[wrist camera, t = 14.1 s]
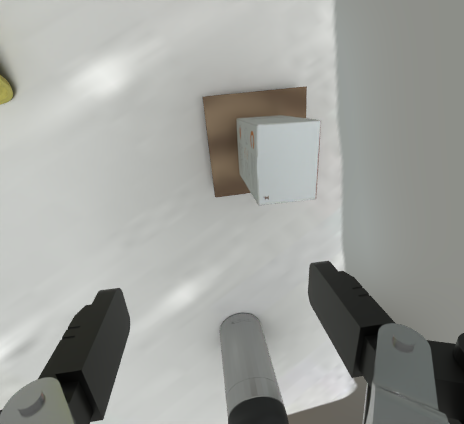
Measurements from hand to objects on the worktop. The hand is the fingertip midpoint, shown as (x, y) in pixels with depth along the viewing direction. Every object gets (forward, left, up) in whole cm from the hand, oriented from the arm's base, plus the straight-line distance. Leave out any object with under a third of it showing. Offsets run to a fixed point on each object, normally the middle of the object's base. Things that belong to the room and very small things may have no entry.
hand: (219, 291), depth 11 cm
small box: (+1, -8, -29) cm, 30 cm away
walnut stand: (+1, -8, -33) cm, 34 cm away
